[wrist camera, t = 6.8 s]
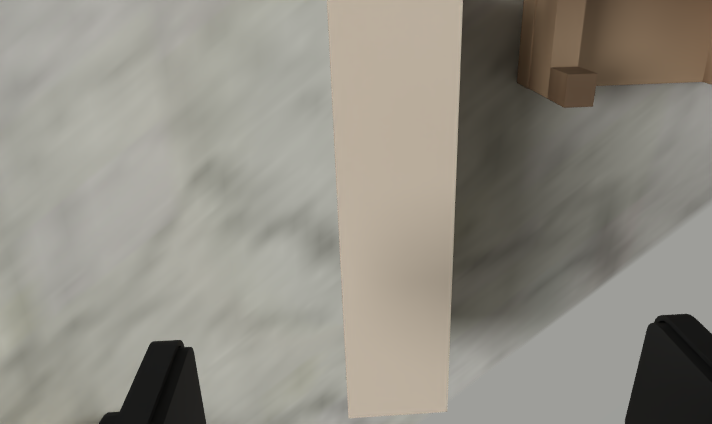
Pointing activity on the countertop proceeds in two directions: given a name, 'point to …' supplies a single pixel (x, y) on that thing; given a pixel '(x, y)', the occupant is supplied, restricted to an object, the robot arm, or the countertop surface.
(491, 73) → the countertop surface
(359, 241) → the clay bar
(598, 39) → the rack
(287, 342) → the countertop surface
